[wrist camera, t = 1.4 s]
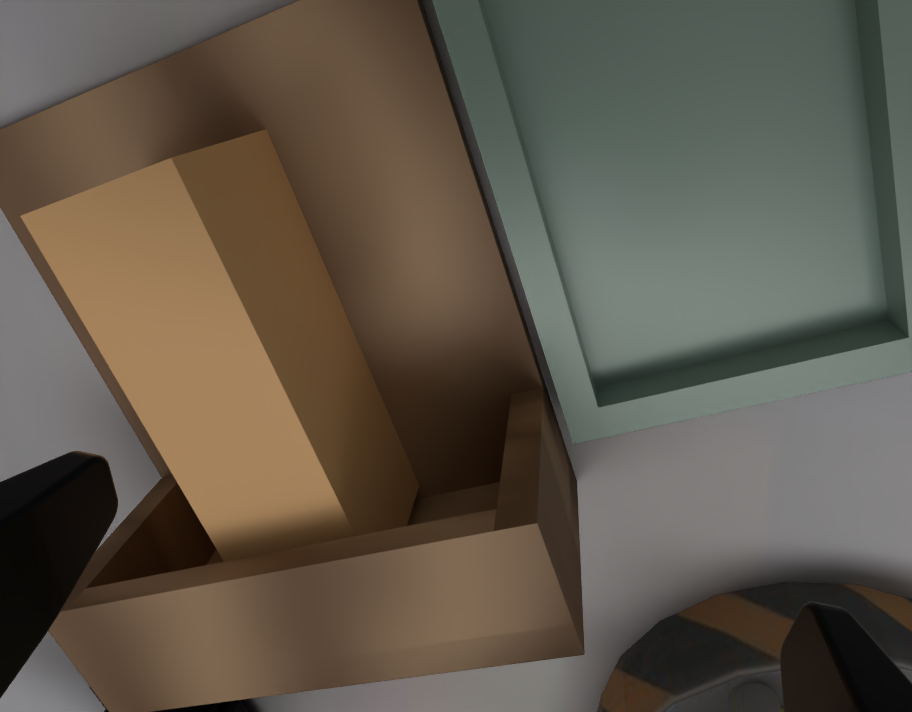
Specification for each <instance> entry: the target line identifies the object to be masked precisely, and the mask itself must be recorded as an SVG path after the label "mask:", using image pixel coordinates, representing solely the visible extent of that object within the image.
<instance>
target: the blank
mask: <svg viewBox="0 0 912 712" xmlns="http://www.w3.org/2000/svg"><path fill="white" fill-rule="evenodd" d="M20 217H21V218H22V220H23V222H24V223H25V225H26V227H27V228H28V230H29V232H30V234H31V235H32V237H33V239H34V240H35V242H36V244H37V245H38V247H39V249H40V250H41V252H42V254H43V256H44V257H45V259H46V261H47V262H48V264H49V266H50V267H51V269H52V271H53V273H54V274H55V276H56V278H57V279H58V281H59V283H60V284H61V286H62V288H63V289H64V291H65V293H66V295H67V296H68V298H69V300H70V301H71V303H72V305H73V306H74V308H75V310H76V312H77V313H78V315H79V317H80V318H81V320H82V322H83V323H84V325H85V327H86V329H87V330H88V332H89V334H90V335H91V337H92V339H93V340H94V342H95V344H96V345H97V347H98V349H99V351H100V352H101V354H102V356H103V357H104V359H105V361H106V362H107V364H108V366H109V368H110V369H111V371H112V373H113V374H114V376H115V378H116V379H117V381H118V383H119V384H120V386H121V388H122V390H123V391H124V393H125V395H126V396H127V398H128V400H129V401H130V403H131V405H132V407H133V408H134V410H135V412H136V413H137V415H138V417H139V418H140V420H141V422H142V424H143V425H144V427H145V429H146V430H147V432H148V434H149V435H150V437H151V439H152V440H153V442H154V444H155V446H156V447H157V449H158V451H159V452H160V454H161V456H162V457H163V459H164V461H165V463H166V464H167V466H168V468H169V469H170V471H171V473H172V474H173V476H174V478H175V479H176V481H177V483H178V485H179V486H180V488H181V490H182V491H183V493H184V495H185V496H186V498H187V500H188V502H189V503H190V505H191V507H192V508H193V510H194V512H195V513H196V515H197V517H198V519H199V520H200V522H201V524H202V525H203V527H204V529H205V530H206V532H207V534H208V535H209V537H210V539H211V541H212V542H213V544H214V546H215V547H216V549H217V551H218V552H219V554H220V556H221V558H222V559H223V561H224V562H225V561H230V560H235V559H241V558H246V557H251V556H256V555H261V554H266V553H271V552H277V551H282V550H287V549H292V548H297V547H302V546H307V545H313V544H318V543H323V542H328V541H333V540H338V539H343V538H349V537H354V536H359V535H364V534H369V533H374V532H379V531H385V530H390V529H395V528H400V527H405V526H407V524H408V520H409V517H410V514H411V511H412V507H413V504H414V501H415V498H416V495H417V491H418V488H419V484H418V481H417V479H416V477H415V474H414V472H413V470H412V467H411V465H410V463H409V460H408V458H407V456H406V453H405V451H404V449H403V446H402V444H401V442H400V439H399V437H398V435H397V432H396V430H395V428H394V425H393V423H392V421H391V418H390V416H389V414H388V411H387V409H386V407H385V404H384V402H383V400H382V397H381V395H380V393H379V390H378V388H377V386H376V383H375V381H374V379H373V376H372V374H371V372H370V369H369V367H368V365H367V362H366V360H365V358H364V355H363V353H362V351H361V348H360V346H359V344H358V341H357V339H356V337H355V334H354V332H353V330H352V327H351V325H350V323H349V320H348V318H347V316H346V313H345V311H344V309H343V306H342V304H341V302H340V299H339V297H338V295H337V292H336V290H335V288H334V286H333V283H332V281H331V279H330V276H329V274H328V272H327V269H326V267H325V265H324V262H323V260H322V258H321V255H320V253H319V251H318V248H317V246H316V244H315V241H314V239H313V237H312V234H311V232H310V230H309V227H308V225H307V223H306V220H305V218H304V216H303V213H302V211H301V209H300V206H299V204H298V202H297V199H296V197H295V195H294V192H293V190H292V188H291V185H290V183H289V181H288V178H287V176H286V174H285V171H284V169H283V167H282V164H281V162H280V160H279V157H278V155H277V153H276V150H275V148H274V146H273V143H272V141H271V139H270V136H269V134H268V132H267V129H265V130H262V131H258V132H255V133H252V134H248V135H245V136H242V137H239V138H235V139H232V140H229V141H225V142H222V143H219V144H215V145H212V146H209V147H205V148H202V149H199V150H195V151H192V152H189V153H186V154H182V155H179V156H176V157H172V158H169V159H167V160H164V161H162V162H159V163H156V164H154V165H151V166H149V167H146V168H143V169H141V170H138V171H136V172H133V173H130V174H128V175H125V176H123V177H120V178H118V179H115V180H112V181H110V182H107V183H105V184H102V185H99V186H97V187H94V188H92V189H89V190H86V191H84V192H81V193H79V194H76V195H73V196H71V197H68V198H66V199H63V200H60V201H58V202H55V203H53V204H50V205H47V206H45V207H42V208H40V209H37V210H34V211H32V212H29V213H27V214H24V215H21V216H20Z"/></svg>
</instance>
